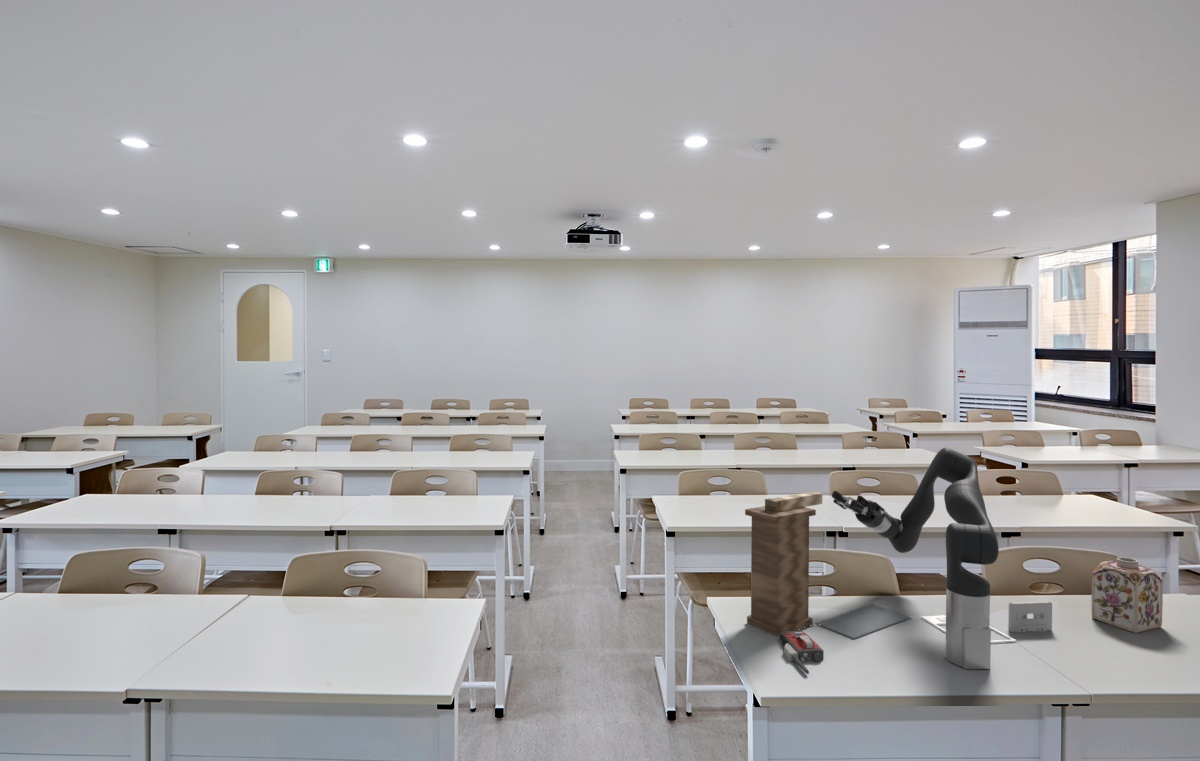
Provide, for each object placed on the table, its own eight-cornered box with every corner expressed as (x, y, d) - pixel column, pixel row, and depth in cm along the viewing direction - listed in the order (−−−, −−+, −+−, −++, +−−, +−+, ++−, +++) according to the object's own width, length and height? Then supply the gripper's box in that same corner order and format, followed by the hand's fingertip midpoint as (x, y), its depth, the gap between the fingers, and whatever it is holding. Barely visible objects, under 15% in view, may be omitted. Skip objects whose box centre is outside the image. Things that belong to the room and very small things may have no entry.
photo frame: (968, 613, 185) (1016, 639, 167) (968, 617, 185) (1016, 643, 167) (921, 615, 183) (964, 642, 166) (921, 619, 183) (964, 646, 166)
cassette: (1048, 628, 176) (1048, 600, 176) (1053, 631, 174) (1054, 603, 174) (1006, 630, 175) (1007, 602, 175) (1011, 632, 174) (1012, 604, 173)
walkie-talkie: (771, 641, 169) (803, 678, 149) (771, 625, 168) (803, 659, 149) (803, 640, 169) (839, 676, 150) (804, 623, 169) (839, 658, 149)
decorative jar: (1163, 628, 177) (1165, 562, 176) (1137, 634, 172) (1138, 567, 172) (1115, 612, 188) (1116, 551, 187) (1089, 618, 183) (1090, 555, 183)
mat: (853, 639, 169) (854, 638, 169) (816, 624, 179) (816, 622, 179) (910, 618, 183) (910, 616, 183) (872, 605, 193) (872, 603, 193)
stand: (775, 637, 170) (776, 517, 169) (744, 624, 179) (745, 509, 178) (814, 624, 179) (815, 509, 178) (783, 612, 188) (784, 502, 187)
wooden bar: (776, 512, 174) (776, 501, 174) (764, 509, 178) (764, 499, 178) (823, 504, 185) (823, 493, 185) (812, 501, 189) (812, 491, 189)
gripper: (857, 501, 209) (829, 481, 201) (898, 509, 197) (870, 488, 189) (849, 523, 207) (821, 503, 199) (891, 532, 195) (862, 512, 187)
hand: (845, 496), depth 194 cm, fingers open, 8 cm apart
